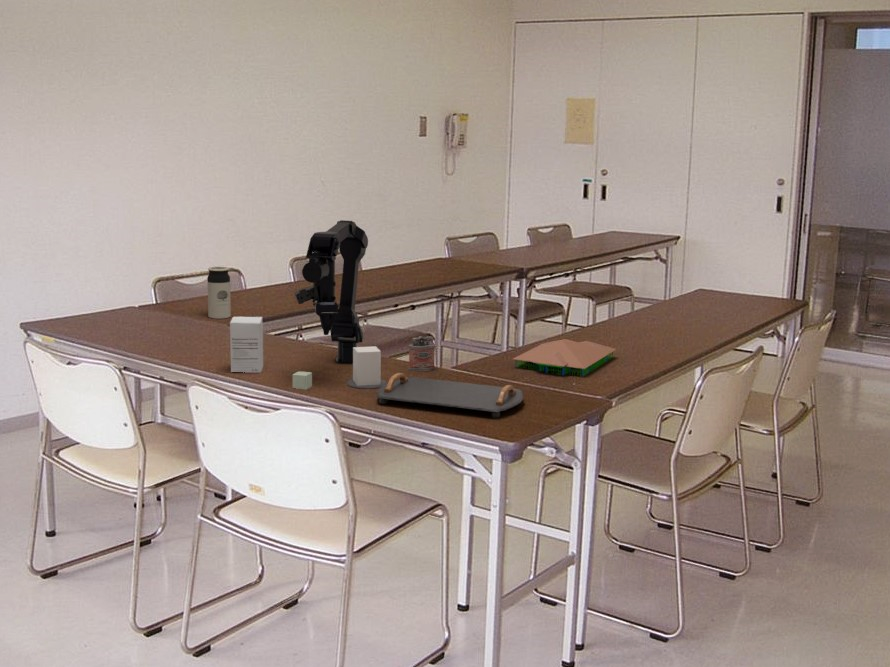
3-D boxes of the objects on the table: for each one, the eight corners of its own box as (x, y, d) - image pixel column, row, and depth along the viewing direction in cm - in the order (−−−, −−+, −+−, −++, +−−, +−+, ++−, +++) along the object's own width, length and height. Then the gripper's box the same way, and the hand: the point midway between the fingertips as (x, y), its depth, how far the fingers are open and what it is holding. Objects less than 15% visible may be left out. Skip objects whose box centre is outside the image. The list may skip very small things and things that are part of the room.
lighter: (410, 371, 311) (410, 338, 309) (407, 368, 314) (407, 336, 312) (436, 370, 314) (436, 337, 311) (433, 367, 317) (433, 335, 315)
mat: (345, 379, 301) (345, 377, 301) (383, 378, 303) (383, 377, 303) (348, 389, 290) (348, 387, 290) (388, 388, 292) (388, 386, 292)
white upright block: (352, 380, 298) (353, 347, 296) (375, 378, 300) (375, 346, 298) (357, 385, 292) (357, 352, 290) (380, 384, 294) (380, 351, 292)
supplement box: (233, 365, 314) (232, 316, 311) (263, 365, 315) (263, 316, 311) (230, 373, 305) (228, 322, 302) (261, 373, 306) (260, 322, 303)
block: (298, 385, 294) (298, 371, 293) (311, 386, 293) (311, 372, 292) (292, 388, 290) (292, 374, 289) (306, 390, 289) (306, 375, 288)
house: (508, 371, 316) (509, 344, 314) (548, 350, 345) (549, 326, 343) (581, 381, 306) (582, 354, 304) (615, 359, 335) (617, 334, 333)
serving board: (365, 405, 276) (365, 382, 275) (399, 385, 298) (399, 363, 296) (508, 423, 264) (508, 399, 262) (532, 400, 285) (533, 377, 284)
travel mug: (207, 315, 387) (206, 266, 384) (229, 314, 390) (228, 266, 386) (209, 319, 380) (208, 270, 376) (231, 318, 382) (230, 269, 379)
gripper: (294, 272, 306) (294, 325, 309) (297, 283, 288) (297, 339, 291) (333, 272, 308) (333, 325, 311) (338, 282, 290) (338, 338, 293)
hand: (324, 331), depth 301 cm, fingers open, 9 cm apart
